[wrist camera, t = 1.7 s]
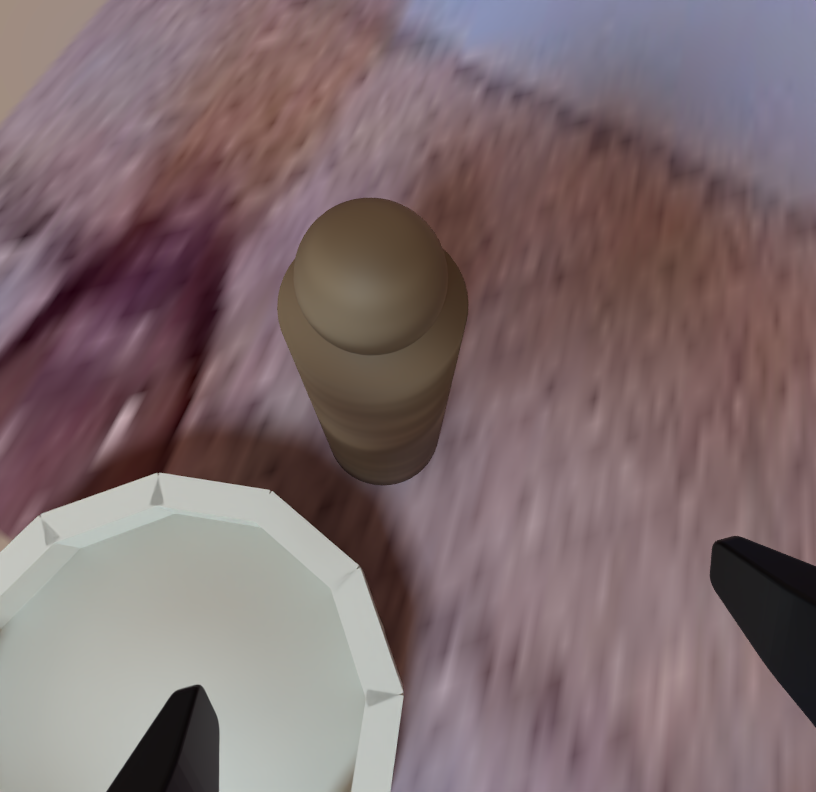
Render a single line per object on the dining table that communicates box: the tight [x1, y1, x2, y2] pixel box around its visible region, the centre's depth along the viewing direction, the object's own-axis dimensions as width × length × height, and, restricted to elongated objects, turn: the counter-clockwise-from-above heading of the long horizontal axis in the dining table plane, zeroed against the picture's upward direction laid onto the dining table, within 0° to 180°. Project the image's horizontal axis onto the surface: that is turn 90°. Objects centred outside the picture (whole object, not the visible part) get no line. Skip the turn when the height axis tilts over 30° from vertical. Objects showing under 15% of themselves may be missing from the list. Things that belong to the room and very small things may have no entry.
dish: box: [0, 473, 404, 792], centre depth 19 cm, size 16×16×3 cm
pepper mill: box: [277, 198, 468, 485], centre depth 18 cm, size 5×5×14 cm
